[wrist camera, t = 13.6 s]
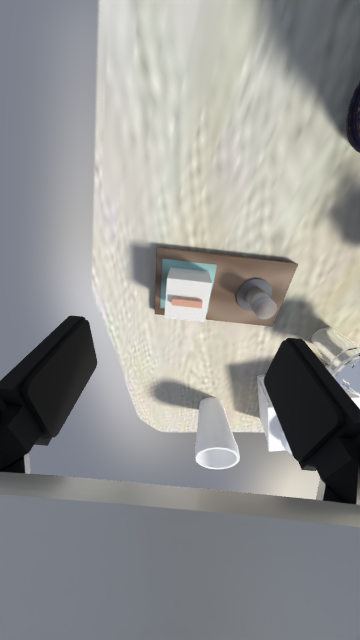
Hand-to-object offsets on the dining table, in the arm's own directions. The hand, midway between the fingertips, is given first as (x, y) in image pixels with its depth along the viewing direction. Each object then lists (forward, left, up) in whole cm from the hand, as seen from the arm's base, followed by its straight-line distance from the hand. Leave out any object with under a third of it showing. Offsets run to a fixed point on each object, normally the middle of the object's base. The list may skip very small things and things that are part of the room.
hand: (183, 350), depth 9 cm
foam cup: (+39, +11, -26) cm, 48 cm away
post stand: (+5, +7, -26) cm, 27 cm away
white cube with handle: (+5, +1, -24) cm, 24 cm away
